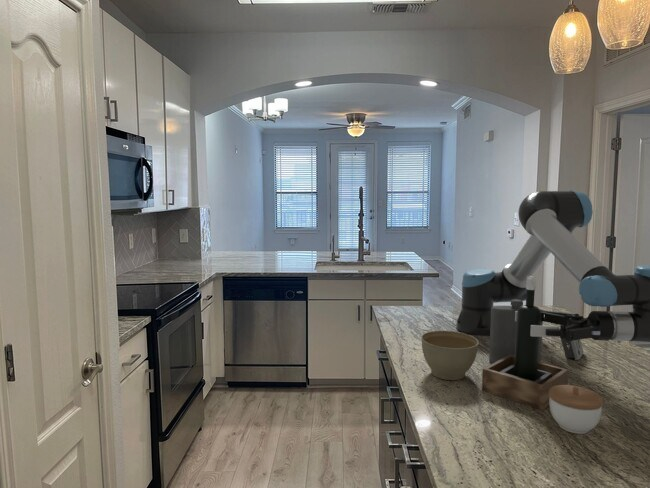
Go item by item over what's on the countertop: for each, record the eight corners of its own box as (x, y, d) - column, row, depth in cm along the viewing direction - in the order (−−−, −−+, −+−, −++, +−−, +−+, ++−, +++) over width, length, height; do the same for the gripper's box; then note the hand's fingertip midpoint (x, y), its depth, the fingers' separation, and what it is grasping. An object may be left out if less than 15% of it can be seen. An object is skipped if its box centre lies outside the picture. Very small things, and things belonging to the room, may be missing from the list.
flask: (538, 361, 144) (541, 299, 142) (542, 368, 139) (545, 304, 136) (488, 357, 148) (490, 297, 146) (489, 364, 142) (492, 301, 140)
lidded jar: (538, 416, 109) (540, 378, 108) (580, 414, 110) (583, 377, 109) (565, 440, 98) (567, 399, 97) (612, 438, 99) (615, 397, 98)
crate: (481, 390, 123) (482, 368, 123) (508, 374, 134) (509, 354, 134) (542, 410, 112) (544, 386, 111) (567, 391, 123) (568, 369, 122)
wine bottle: (512, 388, 122) (518, 277, 119) (514, 381, 127) (520, 274, 124) (535, 392, 119) (543, 279, 116) (536, 385, 124) (543, 276, 121)
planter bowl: (437, 389, 124) (438, 350, 123) (411, 367, 140) (411, 332, 138) (489, 382, 128) (490, 345, 127) (457, 362, 144) (458, 328, 143)
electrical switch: (578, 361, 144) (577, 332, 144) (560, 359, 148) (558, 331, 147) (583, 353, 152) (582, 326, 151) (566, 351, 155) (565, 324, 154)
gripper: (633, 356, 106) (537, 352, 109) (586, 326, 131) (509, 323, 134) (635, 325, 105) (539, 322, 108) (588, 300, 130) (510, 298, 133)
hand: (522, 323), depth 121 cm, fingers open, 13 cm apart
